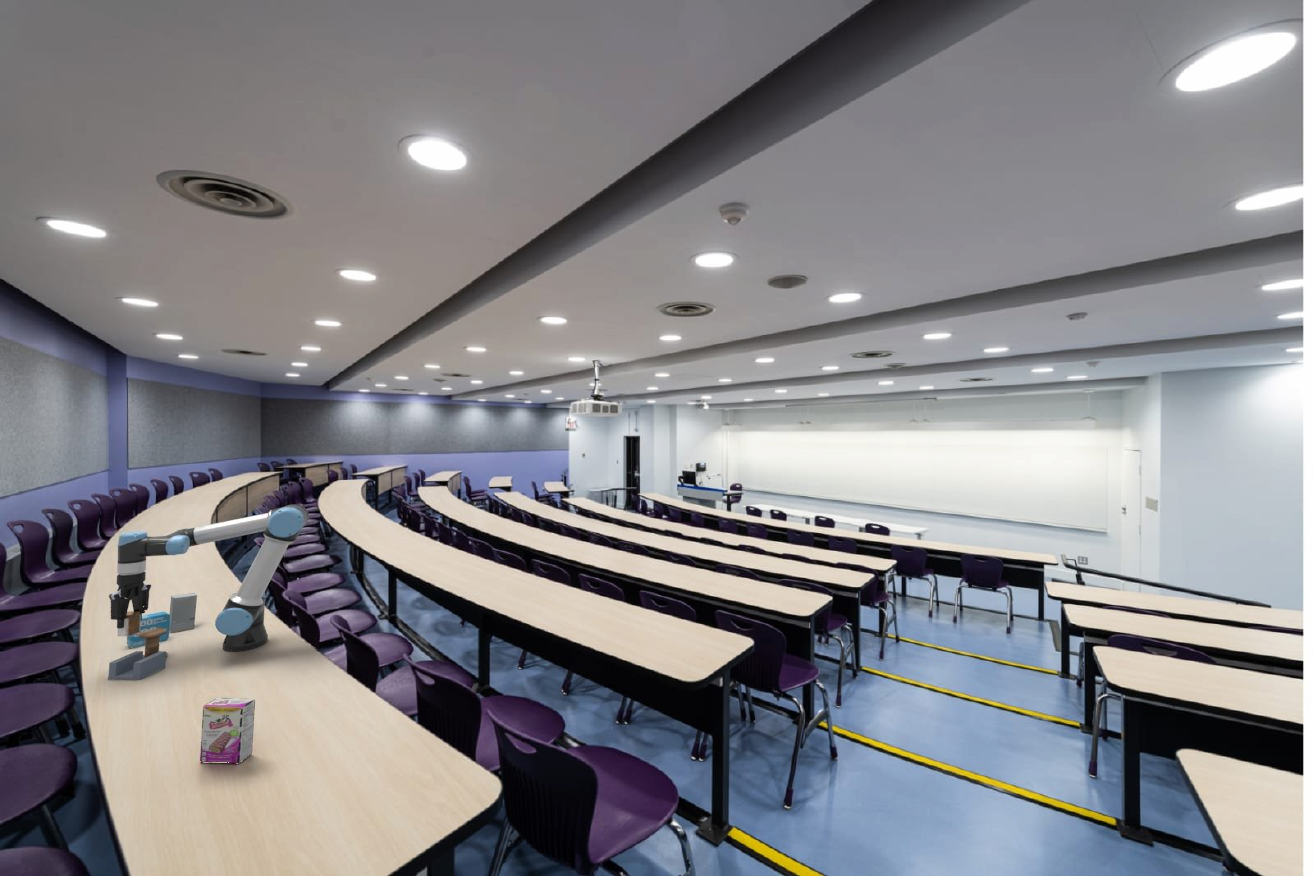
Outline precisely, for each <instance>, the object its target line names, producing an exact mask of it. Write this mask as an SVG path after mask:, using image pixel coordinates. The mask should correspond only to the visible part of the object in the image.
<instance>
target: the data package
mask: <svg viewBox="0 0 1313 876" xmlns="http://www.w3.org/2000/svg"><path fill="white" fill-rule="evenodd" d="M169 614H170V613H167V612H166V611H158V612H154V613H149V614H145V615H144V614H142V620H141V621H140V631H139V632H138V633H136V634H133V635H131V636H126V644H127V646H128V647H130V648H132V649H136V648H140V647H145V639H146V638H139V637H138V635H139V633H140V632H143V631H146V630H149V629H155V628H166V629H167V633H165V634H163V635H160V641H159V643H162V642H165V641H167V640H168V639H169V637H170V631H169V628H170V615H169Z"/></svg>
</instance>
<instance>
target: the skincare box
mask: <svg viewBox="0 0 1313 876" xmlns="http://www.w3.org/2000/svg"><path fill="white" fill-rule="evenodd" d="M197 598H198V595H197V593H195V592H191V593H189V592H188V593H181V594H173V595H170V606H169V613H168V614H169V615H170V628H169V633H171V634H174V633H178V632H185V631H188V630H192V629H195V621H196V613H197V612H196V611H197V600H198V599H197Z"/></svg>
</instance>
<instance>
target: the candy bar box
mask: <svg viewBox="0 0 1313 876" xmlns="http://www.w3.org/2000/svg"><path fill="white" fill-rule="evenodd" d="M255 708H256V699H255V698H234V697H216V698H214V699H213V700H211V701H209V702H208V703H206V704H204V705H203V706H202V721H201V722H202V723H201V736H200V737H201V738H200V739H201V741H200V753H199V762H200V761H201V762H227V763H228V762H229V763H238V764H237V765H240V764H241V763H240V762H241V761H242V760H244V759H245V758H246V757H247V756H249V755H250V756H252V754H253V744H254V743H253V742H254V740H253V739H254V728H255V727H254V726H255V725H254V724H255V710H256V709H255ZM250 756H249V757H250ZM246 759H247V758H246ZM246 759H245V760H246ZM245 760H244V761H245ZM239 763H240V764H239Z"/></svg>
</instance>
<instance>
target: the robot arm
mask: <svg viewBox="0 0 1313 876" xmlns="http://www.w3.org/2000/svg"><path fill="white" fill-rule="evenodd" d="M309 518H310V515H309V511H308V510H307V508H305V507H304V506H303V505H299V504H288V505H285V506H282V507H279V508H273V509H270V510H269V511H268V512H266V513H260V514H256V515H251V516H245V517H241V518H236V519H231V520H225V521H221V522H215V523H212V524H211V523H210V524H206V525H200V526H196V527H190V528H182V529H178V530H176V531H174V532H172V533H170V534H167V535H164V536H163V535H161V536H148V532H147V531H141V530H140V531H130V532H129V531H128V532H127V531H126V532H123V533H121V534H119V537H118V543H117V569H116V570H117V571H116V573H117V575H116V585H117V586H118V588H117V591H116V592H115V593H110V594H109V595H108V597H109V600H110V620H112V621H115V620H116V628H117V637H127V633H128V619H126V615H127V612H129V610H128V609H129V605H130V602H131V604H132V608H133V609H132V611H139V612H140V621H141V620H142V616H143V614H145V613H146V611H147V610H148V609H149V601H150V600H149V599H150V590H151V588H152V584H145V581H146V578H147V577H146V576H147V575H146V574H147V572H146V570H147V557H159V556H160V557H161V556H178V555H184V554H186V553H188V550H189V549H190V547H195V546H196V547H197V546H199V545H203V544H207V543H213V542H218V541H222V540H229V539H232V538H236V537H237V538H238V537H242V536H246V535H251V534H256V533H261V532H263V536H264V541H263V543H262V544H261V547H260V548H259V550H258V552H257V554H256V556H255V558H254V560H253V561H252V564H251V565H250V568H249V569H248V571H247V573H246V575H245V577H244V579H243V581H242V583H241V585H240V586H239V588H238V590H237V591H236V592H235V593H233V594H231V595H230V596H229V598H228V600H227V601H226V604H225V605H224V607H223V609H222V611H220V613H219V614H218V615H217V617H216V619H215V620H214V621H215V623H214V626H215V628H216V630H217V631H218V632H219V633H221V634H223V635H225V638H224V640H223V642H222V650H223V651H225V652H242V651H247V650H251V649H256V648H258V647H261V646H264V645H265V644H267V642H268V641H269V635H268V633H267V629H266V626H265V609H266V608H265V606H266V605H265V604H266V598H267V597H266V590H267V588H268V586H269V583H270V582H271V580H272V578H273V576H274V574H275V572H276V570H277V568H278V567H279V564H280V562H281V560H282V559H283V556H284V555H285V553H286V551H287V549H288V547H289V545H291V544H294V543H295V542H296V540H297V538H298V537H299V534H300V532H301V531H302V529H303V528H304V526H306V524H307V523H308V521H309ZM139 631H140V629H139Z"/></svg>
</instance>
